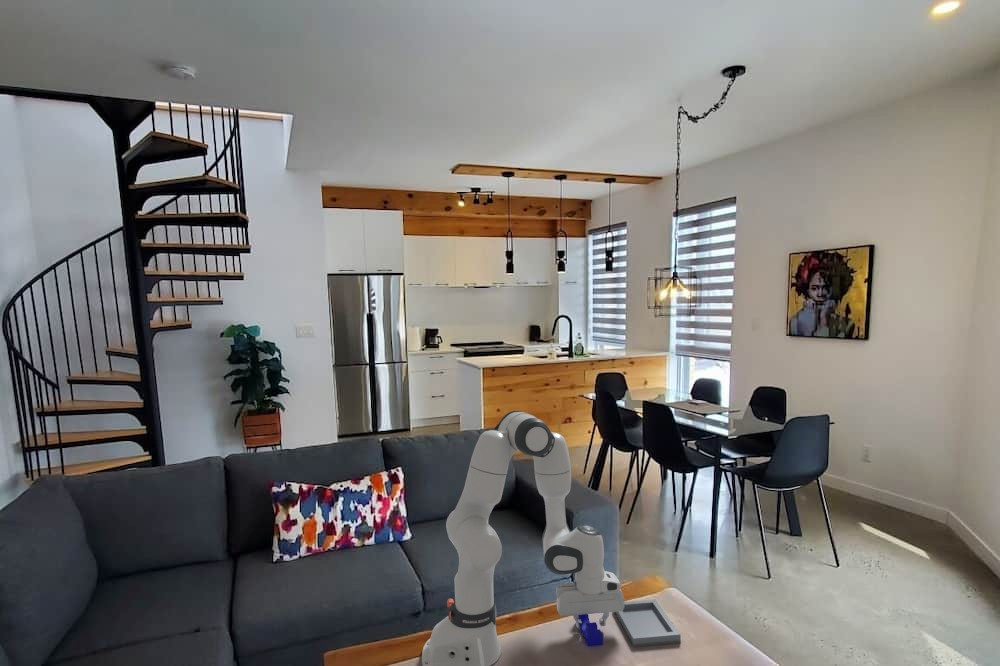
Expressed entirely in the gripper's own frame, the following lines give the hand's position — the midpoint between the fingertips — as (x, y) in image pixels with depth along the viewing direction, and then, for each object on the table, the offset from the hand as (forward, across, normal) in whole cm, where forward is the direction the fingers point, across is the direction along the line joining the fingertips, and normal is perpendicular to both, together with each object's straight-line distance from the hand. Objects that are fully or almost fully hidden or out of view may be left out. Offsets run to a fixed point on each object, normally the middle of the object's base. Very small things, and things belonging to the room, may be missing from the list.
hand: (590, 626), depth 147 cm
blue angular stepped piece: (+2, -1, 0) cm, 2 cm away
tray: (+2, +17, 0) cm, 17 cm away
